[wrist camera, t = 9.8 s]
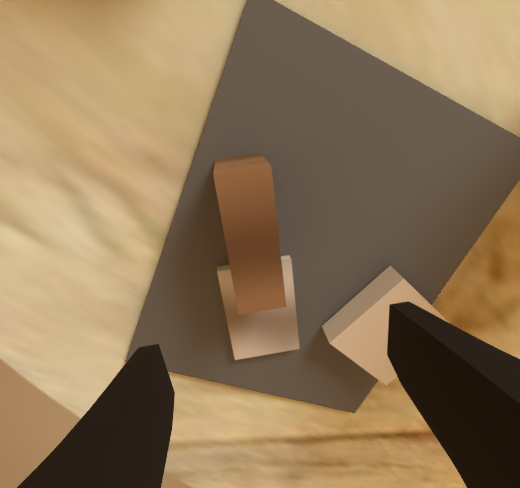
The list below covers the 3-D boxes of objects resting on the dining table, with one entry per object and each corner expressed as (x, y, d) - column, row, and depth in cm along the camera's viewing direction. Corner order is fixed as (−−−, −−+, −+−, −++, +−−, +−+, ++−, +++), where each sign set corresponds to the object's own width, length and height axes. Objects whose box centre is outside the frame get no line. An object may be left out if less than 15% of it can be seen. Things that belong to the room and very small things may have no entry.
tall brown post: (195, 161, 17) (188, 178, 13) (279, 149, 17) (295, 162, 13) (234, 353, 22) (237, 403, 18) (297, 342, 22) (312, 389, 19)
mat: (534, 148, 19) (540, 149, 18) (352, 408, 26) (354, 413, 26) (250, -9, 14) (251, -12, 14) (126, 357, 22) (125, 361, 21)
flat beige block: (329, 343, 20) (385, 385, 22) (404, 278, 19) (456, 330, 21) (321, 325, 22) (374, 366, 24) (389, 264, 20) (439, 313, 23)
